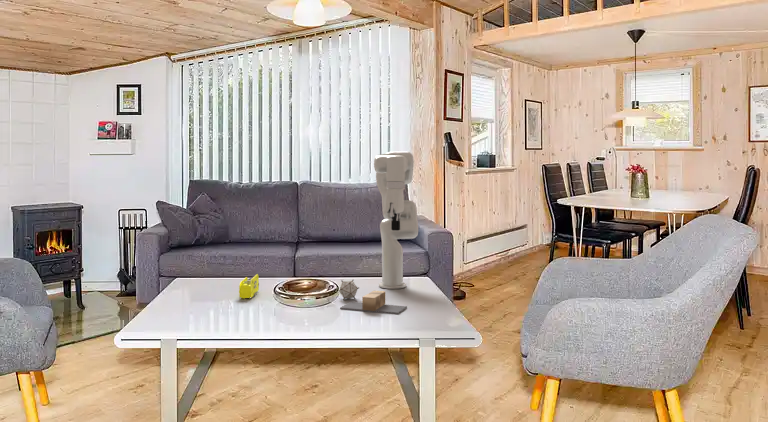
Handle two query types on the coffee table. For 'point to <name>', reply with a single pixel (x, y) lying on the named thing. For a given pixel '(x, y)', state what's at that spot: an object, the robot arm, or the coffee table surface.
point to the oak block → (373, 300)
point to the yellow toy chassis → (249, 287)
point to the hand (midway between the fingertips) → (395, 230)
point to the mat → (383, 309)
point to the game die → (348, 289)
